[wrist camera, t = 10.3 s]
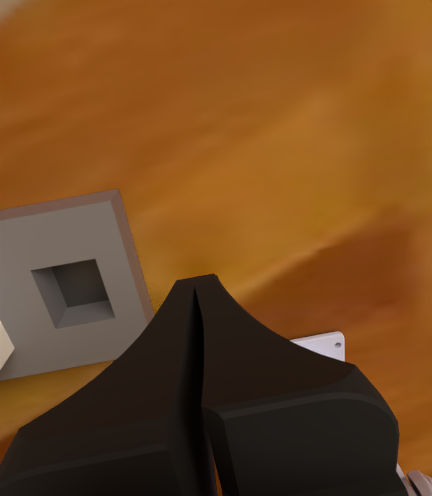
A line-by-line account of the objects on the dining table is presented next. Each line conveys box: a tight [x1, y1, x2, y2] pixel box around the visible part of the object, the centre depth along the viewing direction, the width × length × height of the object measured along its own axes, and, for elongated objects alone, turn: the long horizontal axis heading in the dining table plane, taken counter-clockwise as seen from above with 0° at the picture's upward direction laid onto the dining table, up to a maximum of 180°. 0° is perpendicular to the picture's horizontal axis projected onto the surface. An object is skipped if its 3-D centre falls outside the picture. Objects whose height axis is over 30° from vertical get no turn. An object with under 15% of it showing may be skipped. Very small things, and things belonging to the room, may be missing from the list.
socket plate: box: [0, 189, 155, 381], centre depth 21 cm, size 10×14×2 cm
